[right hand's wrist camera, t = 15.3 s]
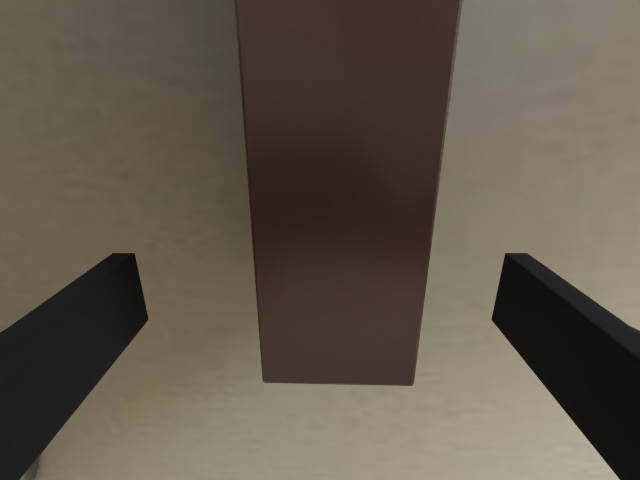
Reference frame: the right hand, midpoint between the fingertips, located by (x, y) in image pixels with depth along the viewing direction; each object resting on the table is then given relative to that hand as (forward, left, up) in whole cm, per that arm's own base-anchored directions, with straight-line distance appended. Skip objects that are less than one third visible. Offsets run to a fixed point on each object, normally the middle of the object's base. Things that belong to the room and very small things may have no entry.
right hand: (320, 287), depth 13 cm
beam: (+1, +12, -5) cm, 13 cm away
